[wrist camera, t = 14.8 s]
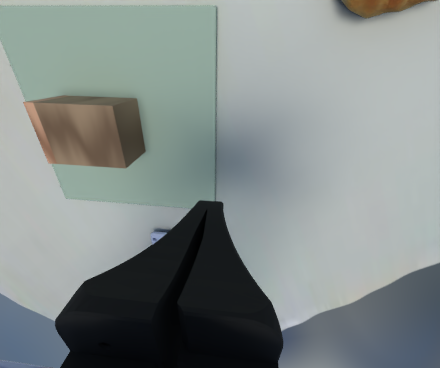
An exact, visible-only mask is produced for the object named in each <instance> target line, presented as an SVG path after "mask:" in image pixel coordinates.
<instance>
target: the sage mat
mask: <svg viewBox="0 0 440 368" xmlns="http://www.w3.org/2000/svg"><path fill="white" fill-rule="evenodd" d="M0 40H1V42H2V45H3V47H4V50H5V52H6V55H7V57H8V59H9V62H10V64H11V67H12V69H13V72H14V74H15V76H16V79H17V81H18V84H19V86H20V89H21V91H22V93H23V96H24V98H25V101H26V102H27V101H33V100H39V99H45V98H51V97H57V96H63V95H66V96H92V97H118V98H137V101H138V107H139V113H140V120H141V126H142V132H143V138H144V144H145V150H146V152H145V153H143V154H142V155H141V156H140V157H139V158H138V159H137V160H135V161H134V162H133V163H132V164H131V165H130V166H129V167H127V168H126V169H125V168H110V167H95V166H80V165H65V164H52V166H53V169H54V171H55V174H56V176H57V178H58V181H59V183H60V186H61V188H62V190H63V193H64V195H65V198H66V199H77V200H90V201H102V202H115V203H128V204H141V205H153V206H166V207H179V208H193V207H194V206H195V204H196V203H197V202H198V201H199V200H204V201H215V161H216V48H217V7H216V6H0Z"/></svg>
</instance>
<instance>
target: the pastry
mask: <svg viewBox="0 0 440 368" xmlns="http://www.w3.org/2000/svg"><path fill="white" fill-rule="evenodd" d="M341 1H342V2H343V3H344V4H345V5H346V7H347V8H348V9H349V10H350V11H352V12H354V13H356V14H358V15H360V16H361V17H364V18H370V17H373V16H377V15H380V14H382V13H387V12H399V11H402V10H405V9H407V8H410V7H412V6H414V5H416V4H419V3H421V2H427V1H436V0H341Z"/></svg>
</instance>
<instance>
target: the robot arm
mask: <svg viewBox="0 0 440 368" xmlns="http://www.w3.org/2000/svg"><path fill="white" fill-rule="evenodd" d="M155 238H156V239H155ZM151 240H152V245H151V246H150V247H148V248H147V249H145V250H144V251H142V252H141V253H139V254H138V255H136V256H134V257H133V258H131V259H129V260H127V261H126V262H124V263H122V264H120V265H118V266H116V267H114V268H112V269H110V270H108V271H106V272H104V273H102V274H100V275H97V276H95V277H93V278H91V279H89V280H86V281H84V283H83V284H82V285H81V286H80V287H79V289H78V290H77V291H76V292H75V294H74V295H73V297H72V298H71V299H70V301H69V302H68V303H67V305H66V306H65V308H64V309H63V310H62V312H61V313H60V314H59V316H58V317H57V318H56V320H55V327H56V330H57V332H58V334H59V335H60V336H61V338H62V339H63V341H64V342H65V343H66V345H67V346H68V348H69V349H70V352H69V354H68V356H67V357H66V359H65V361H64V362H63V364H62V366H61V367H60V368H278V360H279V357H280V354H281V352H282V349H283V337H282V332H281V328H280V325H279V321H278V318H277V316H276V313H275V310H274V308H273V305H272V302H271V301H270V300H269V299H268V297H267V296H266V295H265V294H264V292H263V291H262V290H261V289H260V287H259V286H258V285H257V283H256V282H255V280H254V279H253V278H252V276H251V275H250V273H249V271H248V270H247V268H246V267H245V265H244V263H243V262H242V260H241V258H240V256H239V255H238V253H237V251H236V249H235V246H234V244H233V242H232V240H231V237H230V234H229V232H228V229H227V225H226V222H225V218H224V213H223V203H222V202H217V201H204V200H199V201H198V202H197V203H196V204H195V206H194V207H193V208H192V209H191V210H190V211H189V212H188V214H187V215H186V216H185V217H184V218H183V219H182V220H181V221H180V222H179V223H178V224H177V225H176V226H175V227H173V228H172V229H171V230H170V231H169V232H168V233H165V232H152V233H151ZM0 368H51V367H44V366H38V365H31V364H24V363H17V362H10V361H4V360H0Z"/></svg>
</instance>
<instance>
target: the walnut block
mask: <svg viewBox="0 0 440 368" xmlns="http://www.w3.org/2000/svg"><path fill="white" fill-rule="evenodd" d="M23 103H24V105H25V108H26V110H27V113H28V115H29V117H30V120H31V122H32V125H33V127H34V129H35V132H36V134H37V137H38V139H39V141H40V144H41V146H42V149H43V151H44V153H45V156H46V158H47V161H48V163H50V164H65V165H80V166H95V167H110V168H125V169H126V168H127V167H129V166H130V165H131V164H132V163H133V162H134V161H135V160H137V159H138V158H139V157H140V156H141V155H142V154H143V153H145V152H146V150H145V144H144V138H143V132H142V126H141V120H140V113H139V107H138V101H137V98H118V97H92V96H66V95H63V96H57V97H51V98H45V99H39V100H33V101H27V102H23Z"/></svg>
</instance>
